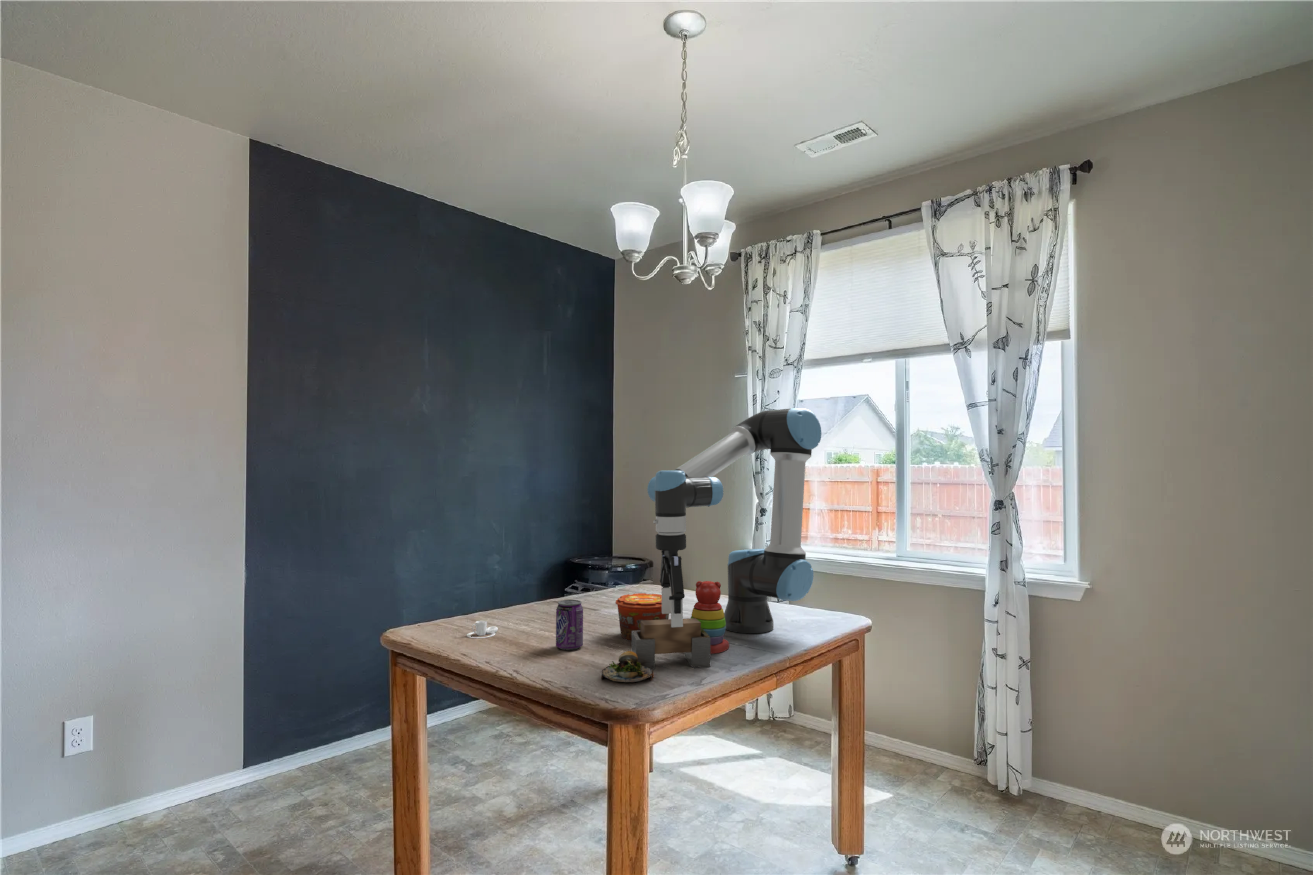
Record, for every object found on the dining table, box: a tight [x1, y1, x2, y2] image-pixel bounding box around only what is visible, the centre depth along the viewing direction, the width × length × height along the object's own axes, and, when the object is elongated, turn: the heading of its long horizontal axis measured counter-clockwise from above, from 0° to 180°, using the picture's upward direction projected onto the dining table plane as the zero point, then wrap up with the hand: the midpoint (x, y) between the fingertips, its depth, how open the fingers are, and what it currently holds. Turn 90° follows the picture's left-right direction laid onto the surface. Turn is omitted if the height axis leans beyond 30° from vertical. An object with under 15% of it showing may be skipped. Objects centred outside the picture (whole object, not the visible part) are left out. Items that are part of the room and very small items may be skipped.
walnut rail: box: [641, 617, 701, 655], centre depth 169 cm, size 14×5×7 cm, turn 102°
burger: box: [600, 647, 655, 683], centre depth 157 cm, size 12×12×8 cm
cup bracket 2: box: [684, 628, 711, 669], centre depth 170 cm, size 4×9×7 cm, turn 9°
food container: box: [615, 592, 670, 642], centre depth 194 cm, size 16×16×11 cm
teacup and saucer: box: [466, 620, 499, 639], centre depth 195 cm, size 9×8×4 cm
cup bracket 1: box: [631, 630, 656, 670], centre depth 168 cm, size 4×9×7 cm, turn 9°
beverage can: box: [555, 599, 584, 651], centre depth 182 cm, size 7×7×12 cm
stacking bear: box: [690, 580, 730, 655], centre depth 182 cm, size 11×10×18 cm
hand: (671, 619), depth 169 cm, fingers open, 13 cm apart
